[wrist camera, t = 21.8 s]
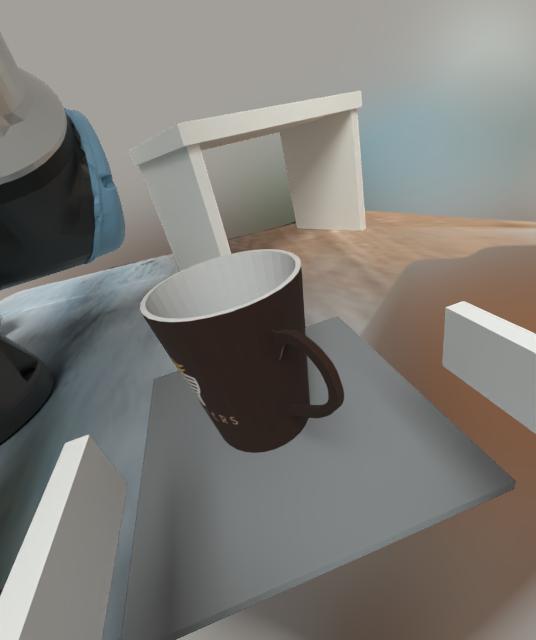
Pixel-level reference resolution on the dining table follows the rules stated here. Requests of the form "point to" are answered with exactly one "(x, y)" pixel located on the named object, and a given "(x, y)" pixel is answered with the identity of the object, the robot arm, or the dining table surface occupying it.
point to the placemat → (290, 492)
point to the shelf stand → (300, 158)
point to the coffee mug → (244, 345)
